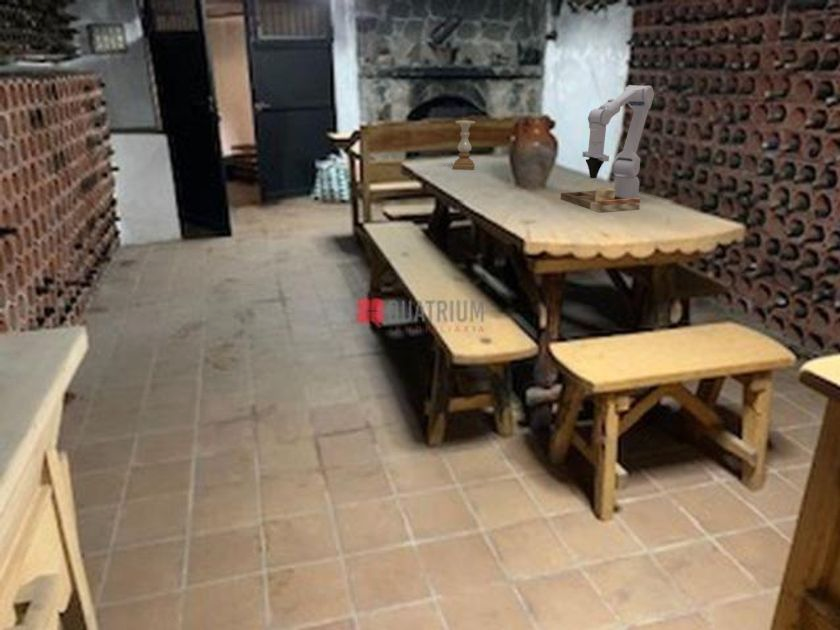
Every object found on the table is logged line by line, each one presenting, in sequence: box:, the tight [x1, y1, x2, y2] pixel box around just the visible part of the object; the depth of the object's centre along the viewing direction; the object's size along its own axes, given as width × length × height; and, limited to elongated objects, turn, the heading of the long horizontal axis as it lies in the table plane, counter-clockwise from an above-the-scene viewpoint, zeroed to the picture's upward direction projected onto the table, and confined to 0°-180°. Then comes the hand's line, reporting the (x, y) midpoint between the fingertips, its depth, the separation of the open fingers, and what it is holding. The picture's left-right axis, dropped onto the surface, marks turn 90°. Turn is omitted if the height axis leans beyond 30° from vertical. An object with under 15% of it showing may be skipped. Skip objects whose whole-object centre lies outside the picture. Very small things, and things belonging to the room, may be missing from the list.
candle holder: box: [452, 119, 476, 171], centre depth 340 cm, size 11×11×24 cm
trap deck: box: [560, 190, 641, 213], centre depth 257 cm, size 18×27×4 cm, turn 20°
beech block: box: [595, 187, 615, 203], centre depth 247 cm, size 5×5×5 cm
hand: (593, 178), depth 253 cm, fingers closed
